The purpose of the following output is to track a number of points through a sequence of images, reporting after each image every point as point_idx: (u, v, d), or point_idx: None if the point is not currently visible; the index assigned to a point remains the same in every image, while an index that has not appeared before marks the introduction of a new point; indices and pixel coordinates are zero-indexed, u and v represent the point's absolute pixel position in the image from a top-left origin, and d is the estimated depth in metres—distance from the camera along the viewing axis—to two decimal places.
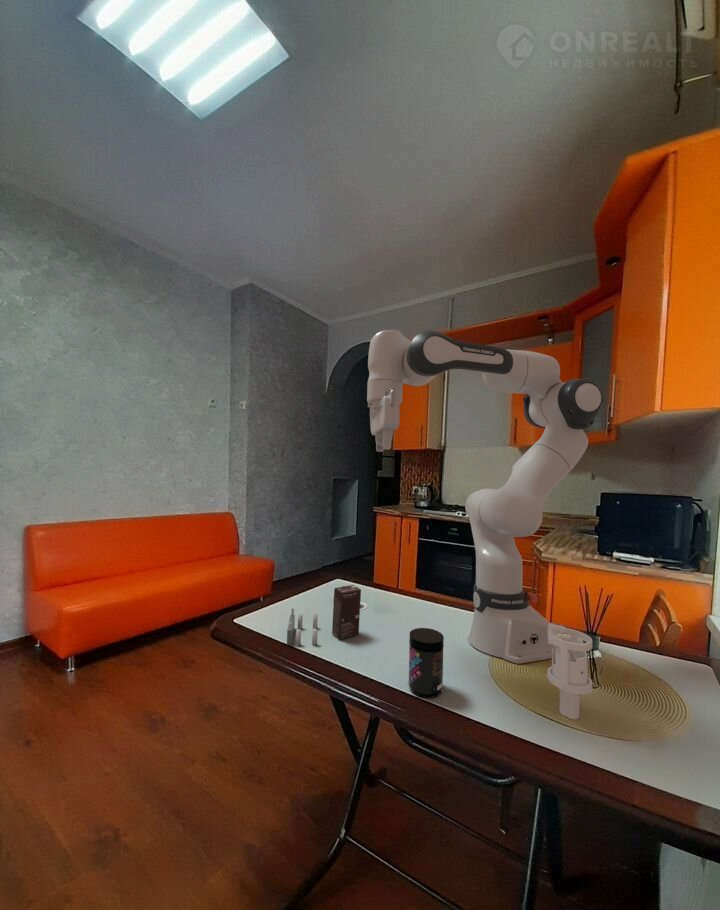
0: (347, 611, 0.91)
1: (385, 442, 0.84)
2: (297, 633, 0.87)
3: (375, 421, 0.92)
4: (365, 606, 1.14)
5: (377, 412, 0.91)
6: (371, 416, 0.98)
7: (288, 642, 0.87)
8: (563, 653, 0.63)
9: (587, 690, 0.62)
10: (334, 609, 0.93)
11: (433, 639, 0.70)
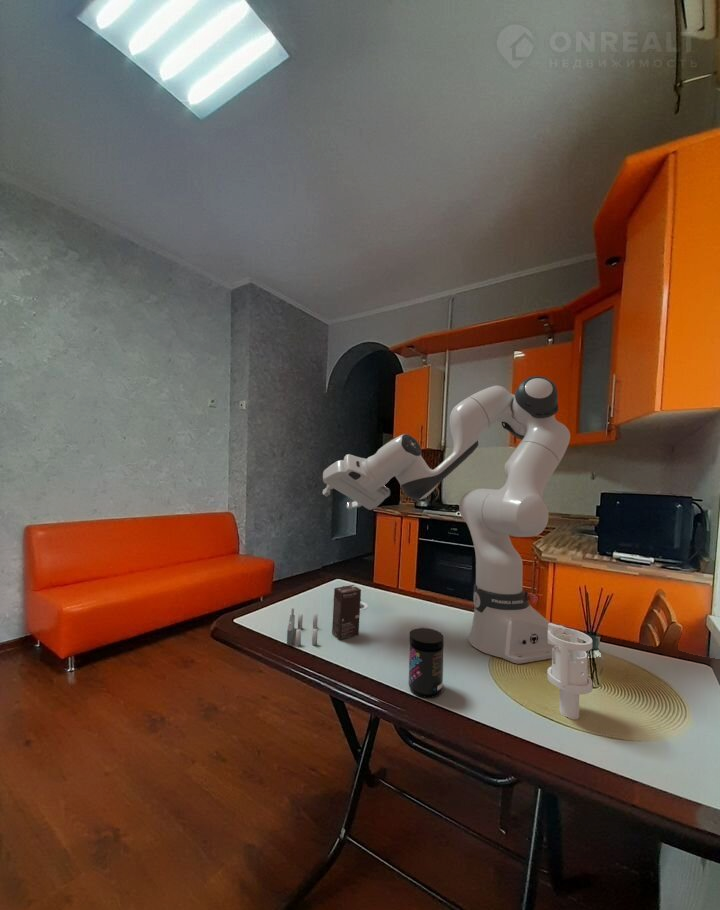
0: (347, 611, 0.91)
1: None
2: (297, 633, 0.87)
3: (348, 488, 1.02)
4: (365, 606, 1.14)
5: (356, 485, 1.01)
6: (339, 476, 0.98)
7: (288, 642, 0.87)
8: (563, 653, 0.63)
9: (587, 690, 0.62)
10: (334, 609, 0.93)
11: (433, 639, 0.70)
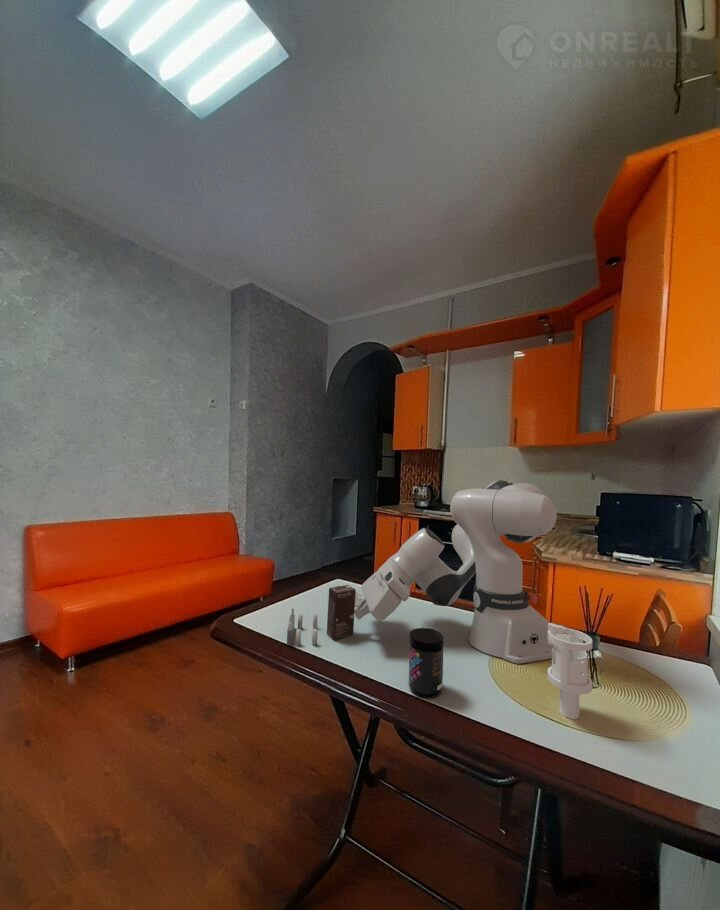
0: (341, 611, 0.91)
1: None
2: (297, 633, 0.87)
3: None
4: None
5: None
6: None
7: (288, 642, 0.87)
8: (563, 653, 0.63)
9: (587, 690, 0.62)
10: (329, 609, 0.93)
11: (433, 639, 0.70)
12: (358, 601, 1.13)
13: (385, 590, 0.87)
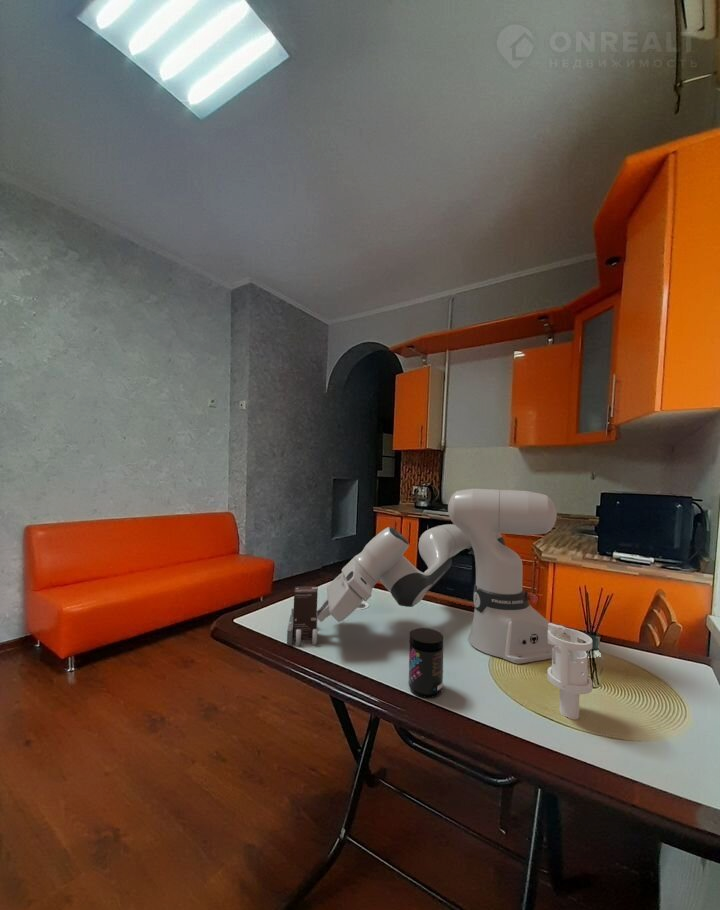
0: (300, 612, 0.90)
1: None
2: (297, 633, 0.87)
3: None
4: (366, 605, 1.14)
5: None
6: None
7: (288, 642, 0.87)
8: (563, 653, 0.63)
9: (587, 690, 0.62)
10: None
11: (433, 639, 0.70)
12: None
13: (345, 590, 0.85)
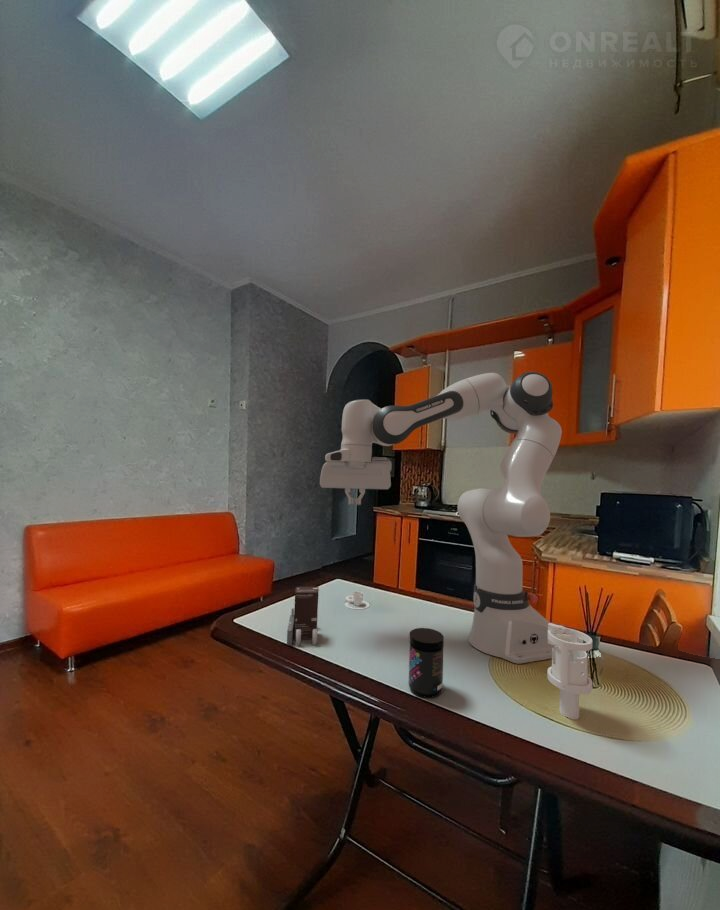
0: (301, 612, 0.90)
1: (360, 499, 1.02)
2: (297, 633, 0.87)
3: (347, 478, 1.00)
4: (367, 605, 1.14)
5: (352, 470, 1.01)
6: (327, 470, 1.00)
7: (288, 642, 0.87)
8: (563, 653, 0.63)
9: (587, 690, 0.62)
10: None
11: (433, 639, 0.70)
12: (359, 600, 1.14)
13: None
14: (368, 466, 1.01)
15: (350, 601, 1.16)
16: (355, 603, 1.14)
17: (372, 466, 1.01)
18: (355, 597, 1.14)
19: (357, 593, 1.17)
